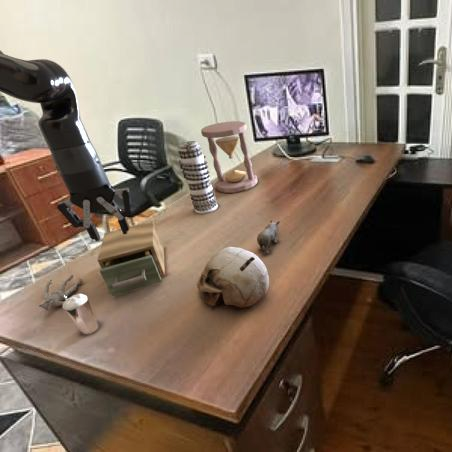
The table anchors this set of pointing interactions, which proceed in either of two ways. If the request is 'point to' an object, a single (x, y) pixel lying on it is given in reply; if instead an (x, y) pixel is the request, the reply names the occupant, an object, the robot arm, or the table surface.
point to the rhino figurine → (268, 236)
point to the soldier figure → (57, 294)
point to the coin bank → (233, 278)
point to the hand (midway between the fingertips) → (111, 235)
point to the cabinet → (132, 244)
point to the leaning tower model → (197, 177)
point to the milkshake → (80, 312)
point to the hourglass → (230, 155)
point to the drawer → (130, 272)
